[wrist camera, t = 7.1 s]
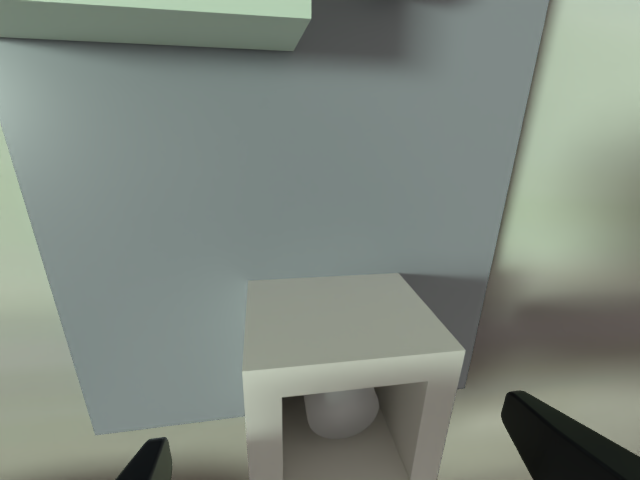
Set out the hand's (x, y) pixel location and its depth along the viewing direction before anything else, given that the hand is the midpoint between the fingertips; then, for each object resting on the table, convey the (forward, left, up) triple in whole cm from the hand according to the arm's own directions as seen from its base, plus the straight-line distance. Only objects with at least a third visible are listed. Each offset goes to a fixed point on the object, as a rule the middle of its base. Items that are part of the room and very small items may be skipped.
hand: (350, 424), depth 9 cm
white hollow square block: (0, 0, -3) cm, 3 cm away
